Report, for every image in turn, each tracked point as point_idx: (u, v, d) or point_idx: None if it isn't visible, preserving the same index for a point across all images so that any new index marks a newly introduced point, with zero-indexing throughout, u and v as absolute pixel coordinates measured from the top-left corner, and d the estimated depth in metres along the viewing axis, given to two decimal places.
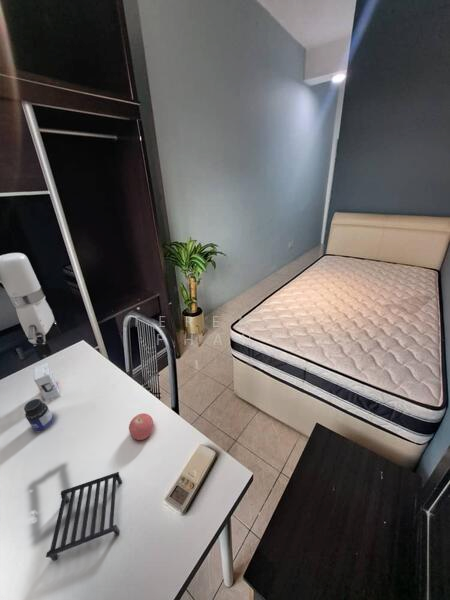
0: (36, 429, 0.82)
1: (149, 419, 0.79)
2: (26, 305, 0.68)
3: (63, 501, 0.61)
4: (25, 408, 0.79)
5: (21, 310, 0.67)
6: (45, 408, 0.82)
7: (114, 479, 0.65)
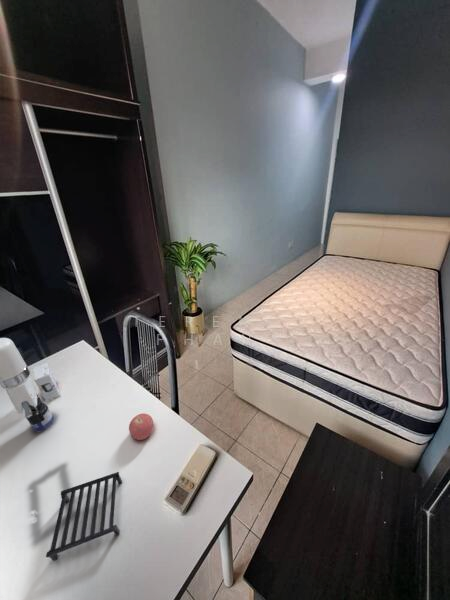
0: (36, 429, 0.82)
1: (149, 419, 0.79)
2: (17, 384, 0.73)
3: (63, 501, 0.61)
4: None
5: (13, 390, 0.72)
6: (45, 408, 0.83)
7: (114, 479, 0.65)
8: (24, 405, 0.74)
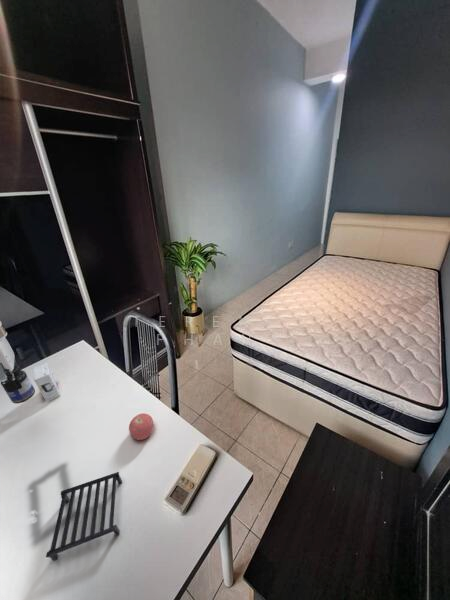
0: (13, 398, 0.74)
1: (149, 419, 0.79)
2: None
3: (63, 501, 0.61)
4: None
5: None
6: (23, 375, 0.75)
7: (114, 479, 0.65)
8: None
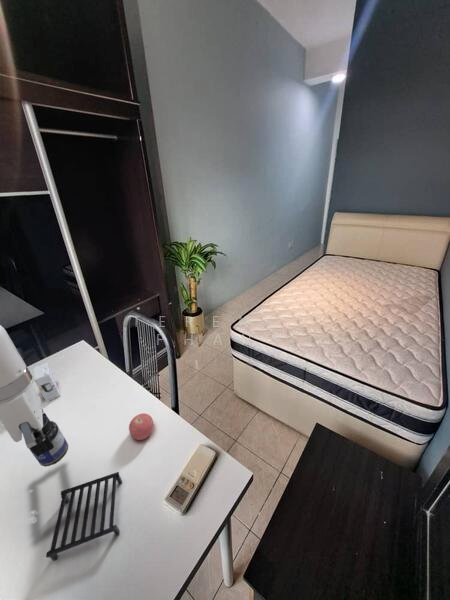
0: (41, 461, 0.55)
1: (149, 419, 0.79)
2: (11, 397, 0.46)
3: (63, 501, 0.61)
4: None
5: (6, 406, 0.45)
6: (55, 429, 0.56)
7: (114, 479, 0.65)
8: (23, 429, 0.47)
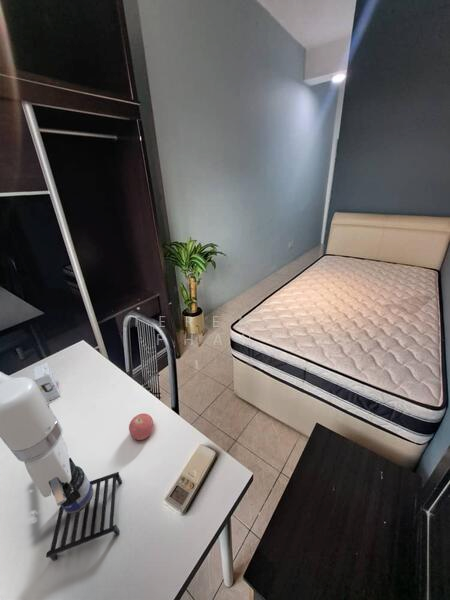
0: (68, 509, 0.53)
1: (149, 419, 0.79)
2: (42, 454, 0.44)
3: None
4: None
5: (37, 464, 0.43)
6: (81, 476, 0.54)
7: (114, 479, 0.65)
8: (53, 485, 0.46)
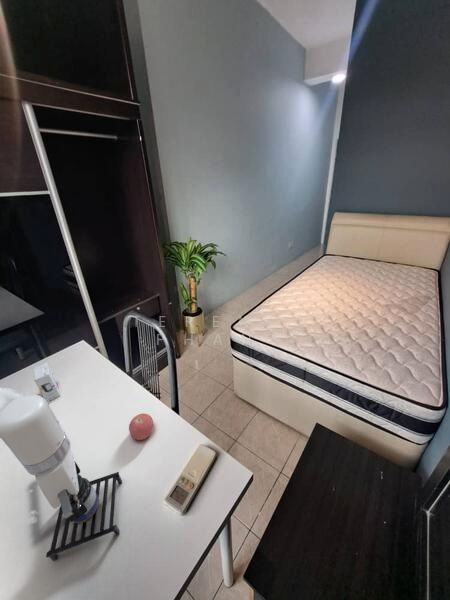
0: (75, 520, 0.56)
1: (149, 419, 0.79)
2: (52, 467, 0.46)
3: None
4: None
5: (47, 477, 0.45)
6: (88, 488, 0.56)
7: (114, 479, 0.65)
8: (61, 496, 0.47)
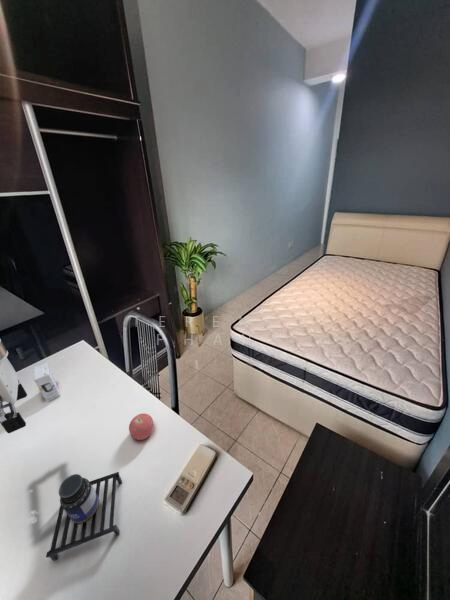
0: (75, 520, 0.56)
1: (149, 419, 0.79)
2: None
3: None
4: (61, 493, 0.53)
5: None
6: (88, 488, 0.56)
7: (114, 479, 0.65)
8: None
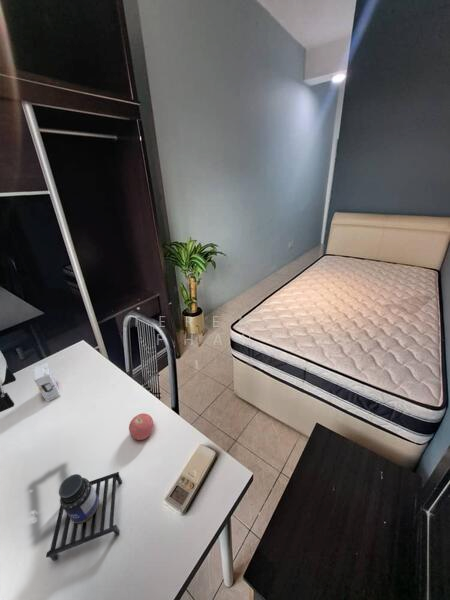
0: (75, 520, 0.56)
1: (149, 419, 0.79)
2: None
3: None
4: (61, 493, 0.53)
5: None
6: (88, 488, 0.56)
7: (114, 479, 0.65)
8: None
